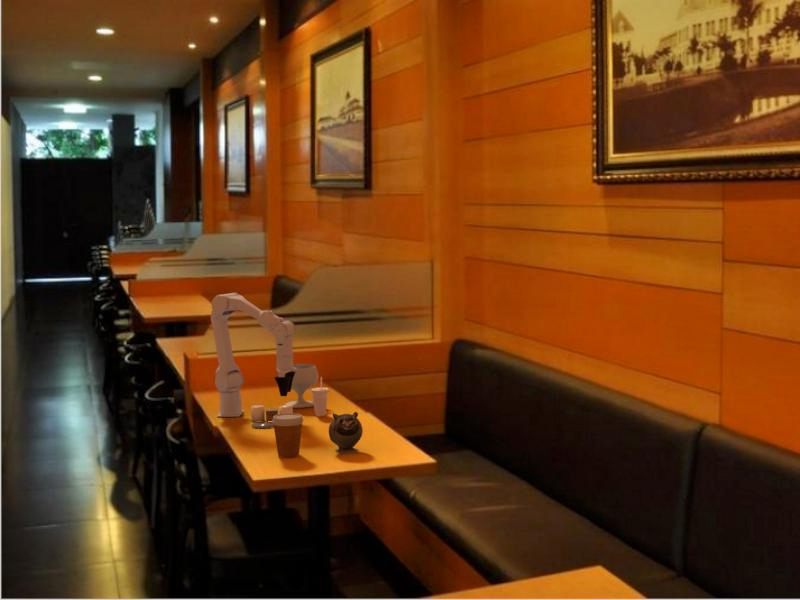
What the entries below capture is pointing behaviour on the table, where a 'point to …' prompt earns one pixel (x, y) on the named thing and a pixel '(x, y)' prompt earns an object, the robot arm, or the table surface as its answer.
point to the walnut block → (271, 413)
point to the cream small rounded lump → (286, 409)
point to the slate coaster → (263, 424)
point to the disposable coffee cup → (288, 433)
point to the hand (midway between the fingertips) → (285, 394)
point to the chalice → (303, 383)
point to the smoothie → (320, 399)
